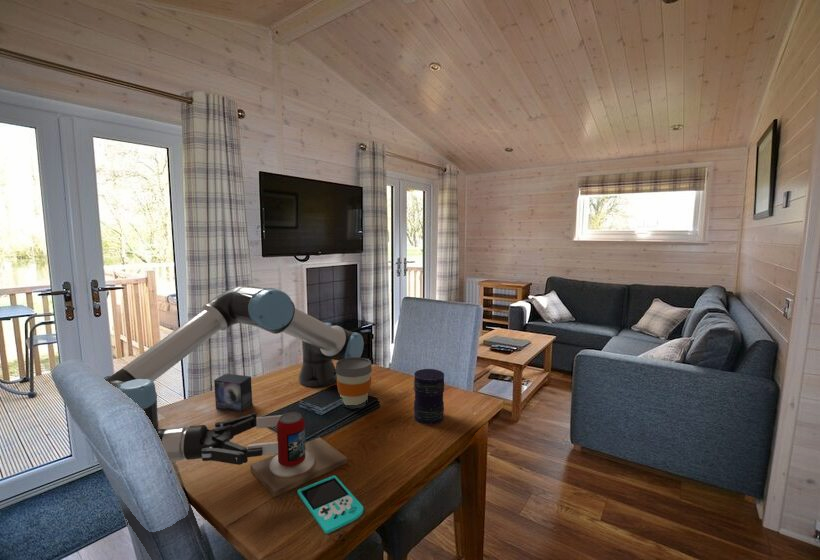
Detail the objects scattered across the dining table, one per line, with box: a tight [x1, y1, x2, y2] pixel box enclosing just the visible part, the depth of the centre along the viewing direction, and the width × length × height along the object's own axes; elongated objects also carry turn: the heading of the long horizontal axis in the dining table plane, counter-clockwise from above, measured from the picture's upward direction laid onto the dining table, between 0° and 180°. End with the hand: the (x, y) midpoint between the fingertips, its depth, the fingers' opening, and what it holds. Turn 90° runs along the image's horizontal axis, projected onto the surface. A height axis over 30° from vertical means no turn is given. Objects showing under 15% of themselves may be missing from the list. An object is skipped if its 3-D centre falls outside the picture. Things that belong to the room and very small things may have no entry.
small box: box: [213, 373, 253, 413], centre depth 137 cm, size 11×6×10 cm, turn 76°
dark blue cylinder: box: [413, 368, 445, 426], centre depth 129 cm, size 10×10×15 cm
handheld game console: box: [297, 475, 364, 534], centre depth 90 cm, size 10×16×1 cm, turn 37°
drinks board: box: [250, 436, 348, 498], centre depth 103 cm, size 20×14×2 cm
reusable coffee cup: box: [335, 356, 373, 405], centre depth 139 cm, size 13×13×15 cm
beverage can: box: [276, 411, 306, 467], centre depth 101 cm, size 7×7×12 cm
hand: (280, 433), depth 99 cm, fingers open, 13 cm apart
